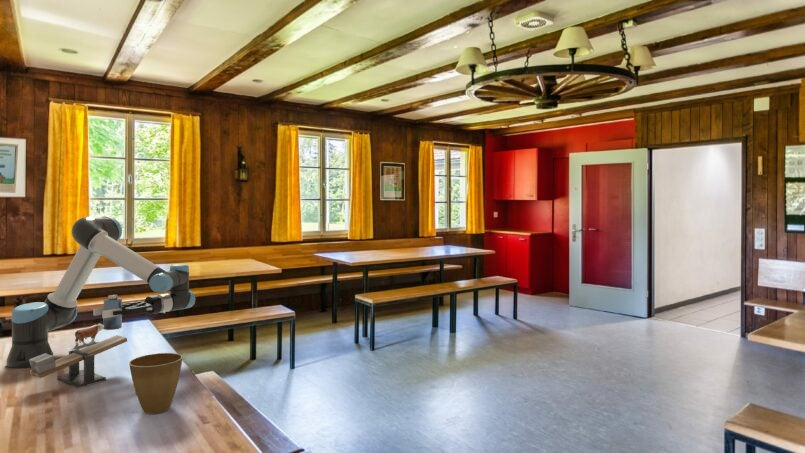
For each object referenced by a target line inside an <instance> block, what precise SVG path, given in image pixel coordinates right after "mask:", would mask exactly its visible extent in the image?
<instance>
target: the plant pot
mask: <svg viewBox="0 0 805 453" xmlns="http://www.w3.org/2000/svg"><path fill="white" fill-rule="evenodd" d="M182 361H183V355H182V354H179V353H175V352H174V353H173V352H160V353H159V352H158V353H152V354H151V353H150V354H145V355H142V356H138V357H135V358H133V359H131V360H129V363H128V364H129V365H128V366H129V371H130V376H131V380H132V384H133V387H134V391H135V394H136V397H137V400H138V402H139V404H140V405H139V406H140V407H141V410H142V412H143V413H144V414H148V415H155V414H161V413H164V412H166V411H168V410H169V409H170V408H171V405H172V403H173V400H174V398H175V394H176V391H177V387H178V383H179V379H180V374H181V369H182V363H183V362H182Z"/></svg>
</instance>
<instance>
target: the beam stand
mask: <svg viewBox="0 0 805 453" xmlns="http://www.w3.org/2000/svg"><path fill="white" fill-rule="evenodd" d="M74 350H75V349H72V350H69V351H68V355H69V354H72V352H73V351H74ZM76 350H79V349H76ZM56 379H57V380H60V381H62V382H65V383H66V384H69V385H72V386H75V387H77V388H82V387H87V386H89V385H92V384H97V383H101V382H104V381H106V380H107V377H106V376H103V375H100V374H97V373H95V355H94V354H91V355H87V356H84V360H83V369H81V370H80V362H78V363H75V364H73V365H71V366H68V373H65V374H59V375H57V378H56Z"/></svg>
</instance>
